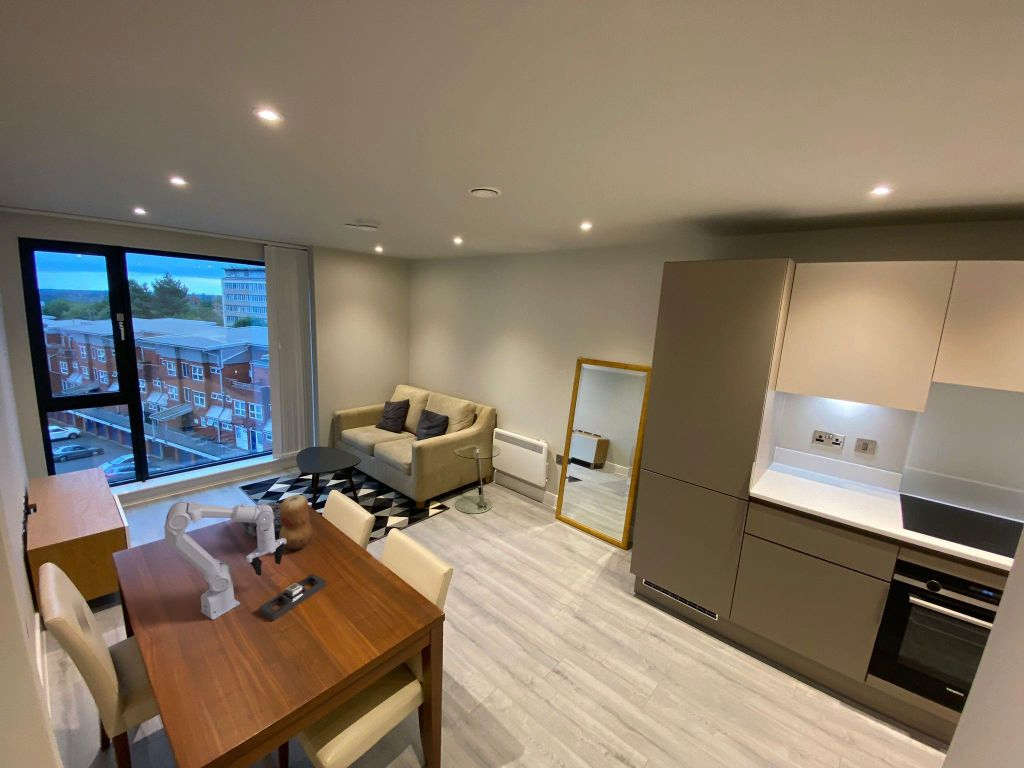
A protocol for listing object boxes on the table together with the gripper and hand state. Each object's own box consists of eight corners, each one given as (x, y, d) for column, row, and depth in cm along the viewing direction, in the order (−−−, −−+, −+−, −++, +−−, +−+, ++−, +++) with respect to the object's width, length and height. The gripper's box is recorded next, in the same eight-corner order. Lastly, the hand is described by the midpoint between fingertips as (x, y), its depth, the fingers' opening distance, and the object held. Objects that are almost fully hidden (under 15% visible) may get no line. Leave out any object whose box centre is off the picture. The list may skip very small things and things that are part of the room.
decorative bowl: (277, 553, 188) (277, 533, 186) (226, 538, 194) (226, 519, 192) (314, 524, 213) (315, 507, 211) (269, 512, 218) (269, 495, 216)
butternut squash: (273, 551, 186) (270, 500, 181) (296, 536, 198) (294, 488, 194) (297, 558, 182) (295, 506, 177) (320, 542, 195) (318, 493, 190)
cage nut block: (293, 603, 156) (292, 591, 155) (286, 599, 157) (285, 588, 156) (302, 597, 159) (302, 585, 158) (295, 593, 161) (295, 582, 160)
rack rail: (273, 621, 147) (273, 614, 146) (259, 612, 150) (259, 606, 150) (326, 585, 166) (325, 580, 166) (312, 578, 170) (312, 573, 169)
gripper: (253, 549, 148) (256, 583, 150) (290, 531, 161) (292, 562, 163) (241, 544, 151) (244, 576, 154) (279, 526, 164) (281, 556, 166)
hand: (268, 568), depth 159 cm, fingers open, 7 cm apart
